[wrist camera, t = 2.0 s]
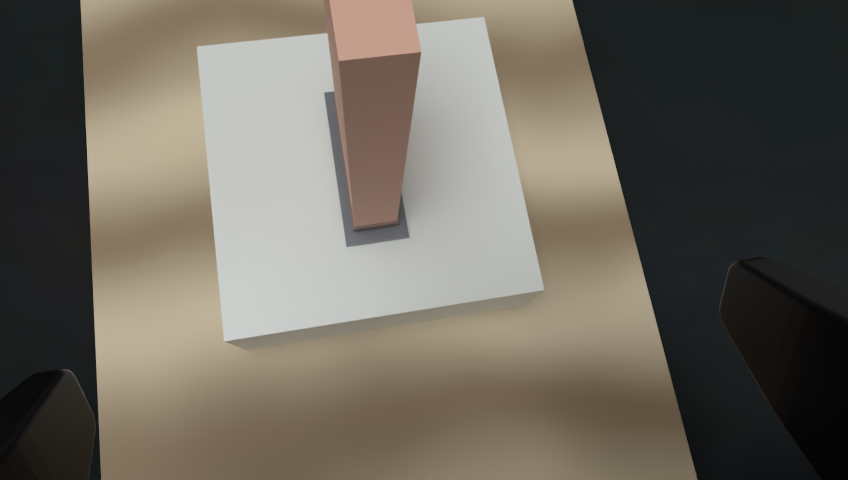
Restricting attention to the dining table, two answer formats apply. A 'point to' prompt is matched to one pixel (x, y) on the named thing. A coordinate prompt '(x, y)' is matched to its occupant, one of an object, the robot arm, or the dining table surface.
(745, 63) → the dining table surface
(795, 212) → the dining table surface
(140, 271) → the base board
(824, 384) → the robot arm
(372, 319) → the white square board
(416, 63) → the salmon pink flat block
